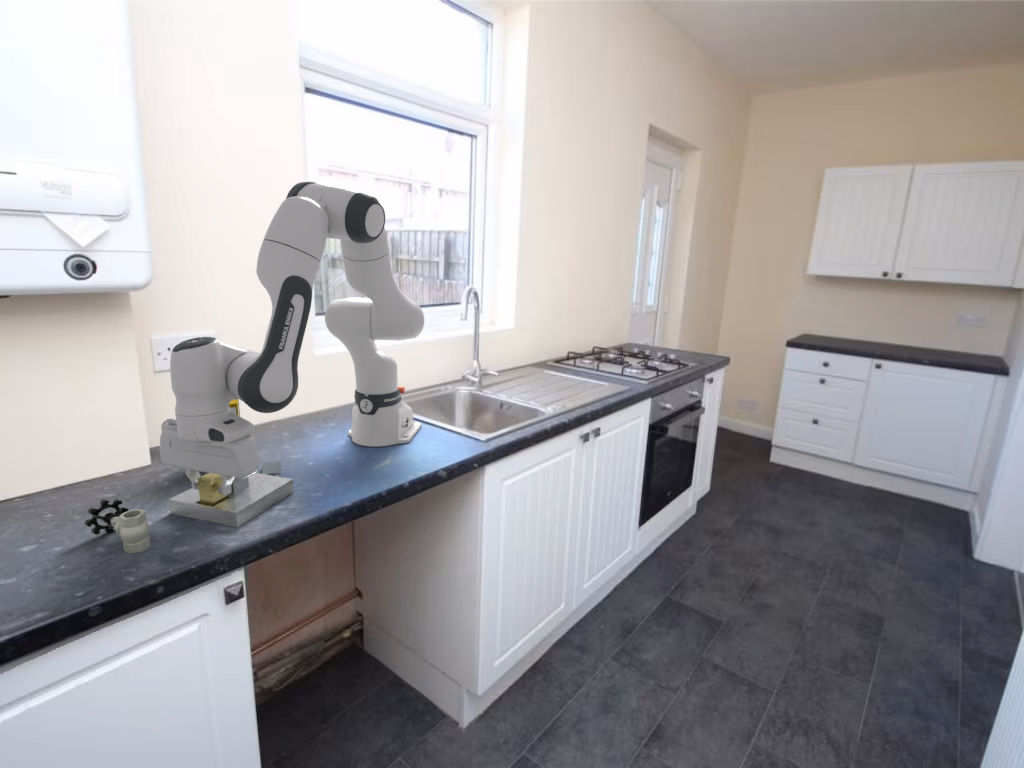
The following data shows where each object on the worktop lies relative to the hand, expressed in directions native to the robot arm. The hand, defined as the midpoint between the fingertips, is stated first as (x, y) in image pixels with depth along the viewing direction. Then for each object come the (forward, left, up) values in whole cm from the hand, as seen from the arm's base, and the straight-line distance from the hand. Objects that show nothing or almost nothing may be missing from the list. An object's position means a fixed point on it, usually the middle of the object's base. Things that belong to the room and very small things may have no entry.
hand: (212, 491), depth 103 cm
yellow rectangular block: (0, 0, -5) cm, 5 cm away
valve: (+13, -7, -5) cm, 16 cm away
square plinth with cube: (-5, 0, -5) cm, 7 cm away
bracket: (-18, -2, -6) cm, 19 cm away
